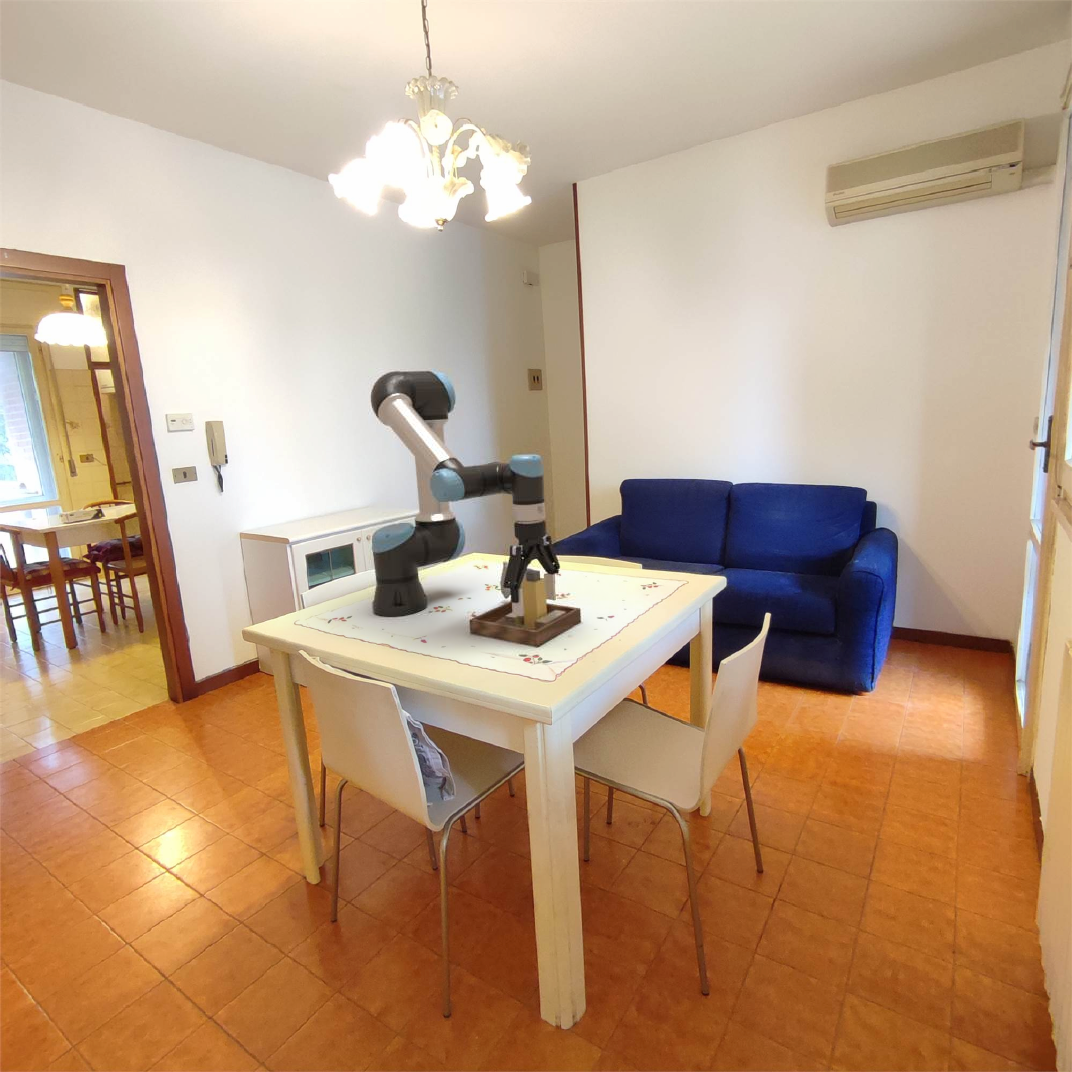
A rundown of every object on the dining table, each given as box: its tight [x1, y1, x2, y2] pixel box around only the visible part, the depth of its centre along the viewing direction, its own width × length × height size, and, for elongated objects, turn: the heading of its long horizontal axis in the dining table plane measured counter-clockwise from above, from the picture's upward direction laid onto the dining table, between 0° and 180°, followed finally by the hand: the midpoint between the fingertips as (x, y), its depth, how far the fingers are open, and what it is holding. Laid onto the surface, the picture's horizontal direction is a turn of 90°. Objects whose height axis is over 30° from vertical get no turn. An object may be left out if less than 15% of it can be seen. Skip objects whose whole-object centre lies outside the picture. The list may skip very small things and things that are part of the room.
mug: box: [499, 560, 534, 600], centre depth 172 cm, size 8×12×12 cm, turn 55°
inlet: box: [505, 610, 566, 630], centre depth 152 cm, size 12×9×3 cm
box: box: [469, 600, 582, 648], centre depth 153 cm, size 20×19×4 cm
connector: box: [522, 569, 547, 627], centre depth 150 cm, size 4×4×14 cm
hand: (535, 607), depth 151 cm, fingers open, 13 cm apart
